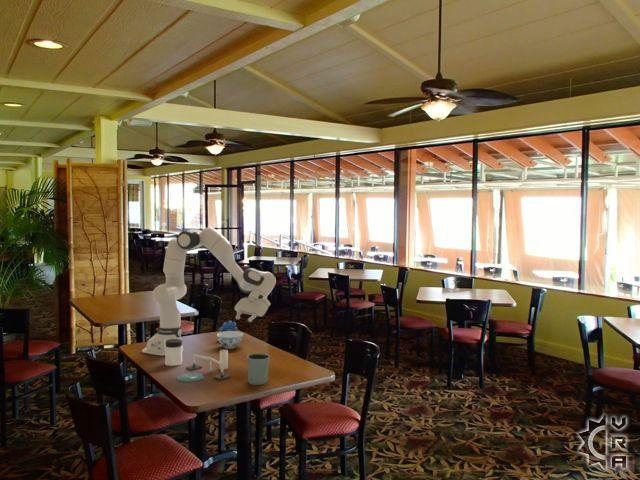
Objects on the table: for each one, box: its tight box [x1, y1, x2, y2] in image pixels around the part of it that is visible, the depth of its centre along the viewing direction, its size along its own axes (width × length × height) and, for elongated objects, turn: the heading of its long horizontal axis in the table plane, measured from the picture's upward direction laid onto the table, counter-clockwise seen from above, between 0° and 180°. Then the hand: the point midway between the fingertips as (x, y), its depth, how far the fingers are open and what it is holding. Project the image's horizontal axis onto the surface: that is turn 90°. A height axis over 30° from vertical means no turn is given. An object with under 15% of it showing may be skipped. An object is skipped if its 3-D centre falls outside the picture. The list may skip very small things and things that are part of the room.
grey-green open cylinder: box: [246, 352, 270, 386], centre depth 232 cm, size 10×10×12 cm
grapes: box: [218, 319, 238, 333], centre depth 310 cm, size 12×7×12 cm, turn 116°
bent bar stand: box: [185, 354, 231, 382], centre depth 244 cm, size 27×6×7 cm, turn 50°
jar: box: [164, 338, 183, 367], centre depth 259 cm, size 9×8×12 cm
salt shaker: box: [219, 349, 229, 371], centre depth 252 cm, size 4×4×9 cm
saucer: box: [176, 372, 204, 383], centre depth 236 cm, size 12×12×1 cm
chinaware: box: [216, 330, 244, 350], centre depth 292 cm, size 15×15×8 cm
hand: (242, 319), depth 260 cm, fingers open, 8 cm apart
